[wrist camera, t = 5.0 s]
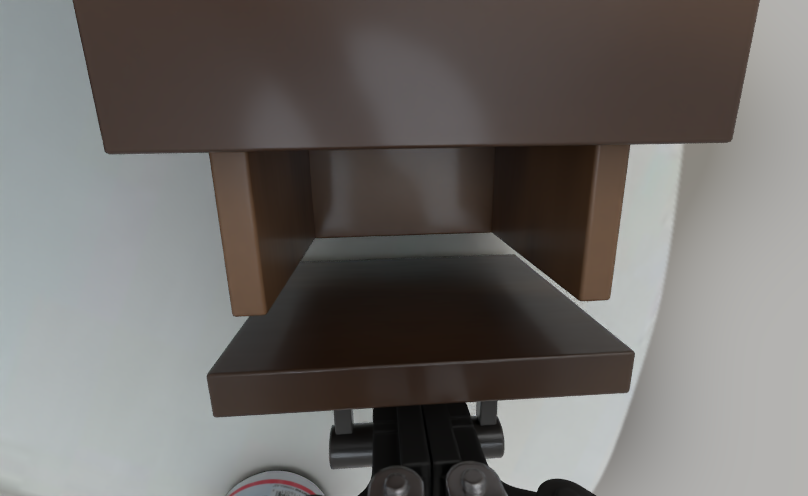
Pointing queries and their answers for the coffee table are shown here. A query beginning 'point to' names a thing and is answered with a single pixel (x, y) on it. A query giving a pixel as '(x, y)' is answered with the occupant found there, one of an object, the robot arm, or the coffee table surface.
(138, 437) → the coffee table surface
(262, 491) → the pill bottle
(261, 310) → the drawer
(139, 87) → the cabinet
